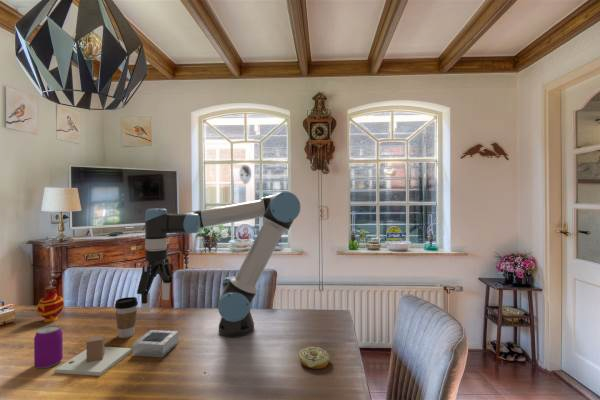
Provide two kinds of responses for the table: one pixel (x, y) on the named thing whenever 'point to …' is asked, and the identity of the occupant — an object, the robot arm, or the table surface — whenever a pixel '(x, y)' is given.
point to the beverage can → (48, 346)
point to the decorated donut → (314, 357)
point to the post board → (95, 365)
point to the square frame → (155, 343)
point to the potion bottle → (50, 305)
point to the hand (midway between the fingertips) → (156, 305)
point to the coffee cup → (126, 316)
